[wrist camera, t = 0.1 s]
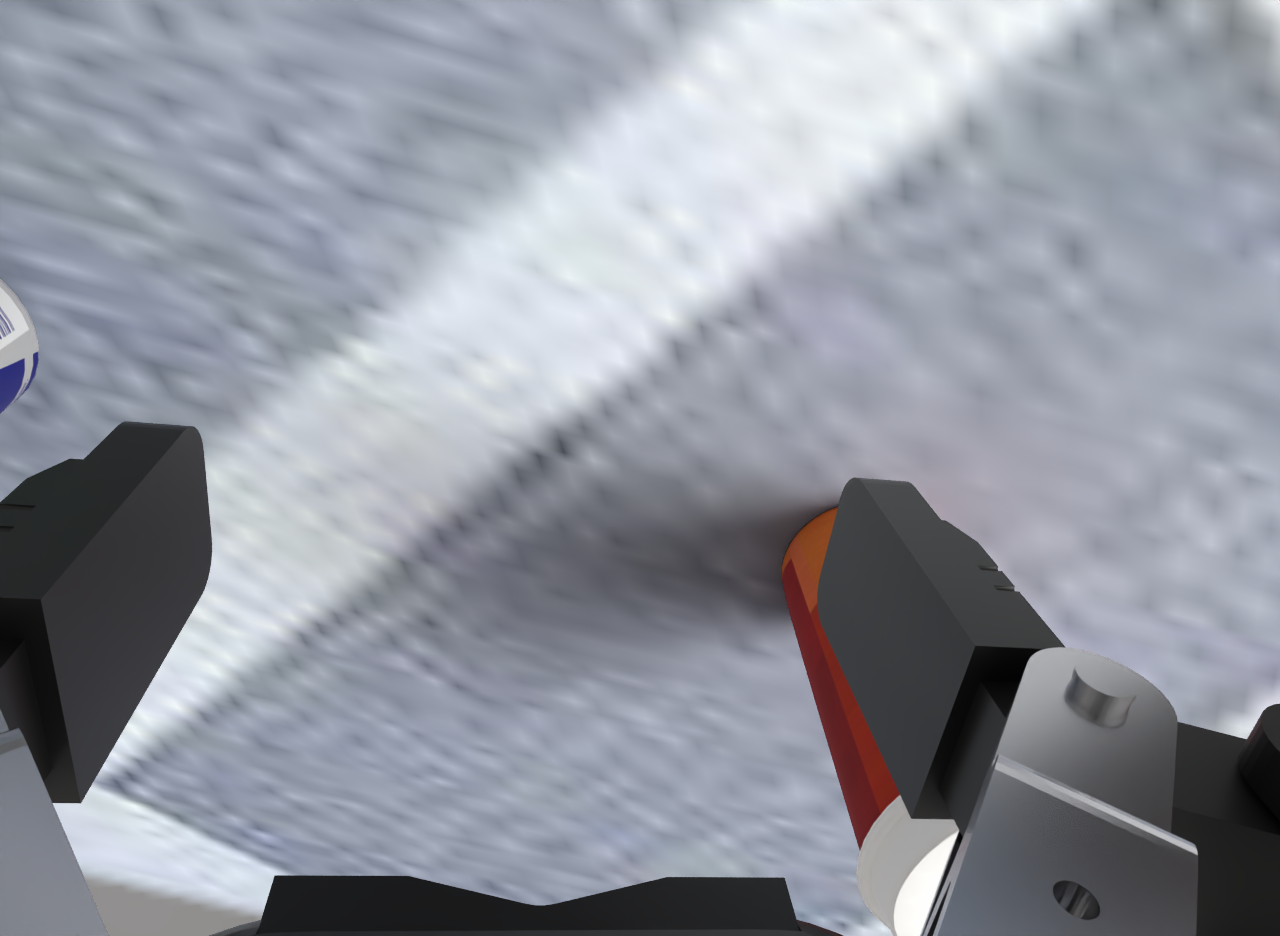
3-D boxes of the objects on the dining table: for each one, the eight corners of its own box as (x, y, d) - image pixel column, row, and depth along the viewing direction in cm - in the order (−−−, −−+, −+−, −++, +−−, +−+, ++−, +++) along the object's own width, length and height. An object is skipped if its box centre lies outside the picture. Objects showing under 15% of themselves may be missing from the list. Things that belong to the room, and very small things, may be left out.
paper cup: (891, 660, 36) (1069, 1004, 24) (721, 618, 35) (820, 969, 22) (990, 503, 33) (1252, 811, 21) (808, 448, 31) (979, 751, 19)
